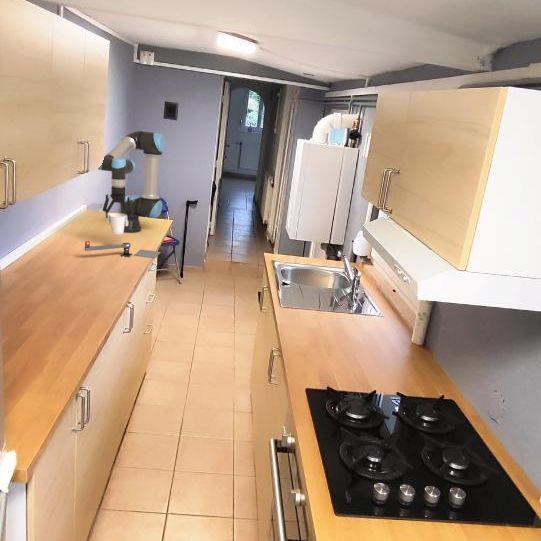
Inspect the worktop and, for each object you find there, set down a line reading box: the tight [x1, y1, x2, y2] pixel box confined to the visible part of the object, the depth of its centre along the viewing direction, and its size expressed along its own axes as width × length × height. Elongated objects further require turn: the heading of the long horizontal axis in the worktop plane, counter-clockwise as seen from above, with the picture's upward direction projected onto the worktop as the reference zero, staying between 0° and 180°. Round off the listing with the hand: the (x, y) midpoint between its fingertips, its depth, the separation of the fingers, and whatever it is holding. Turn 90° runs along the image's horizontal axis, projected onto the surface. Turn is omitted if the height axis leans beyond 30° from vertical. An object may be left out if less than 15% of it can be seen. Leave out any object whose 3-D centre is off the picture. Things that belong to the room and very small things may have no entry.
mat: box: [133, 249, 161, 259], centre depth 315 cm, size 12×12×1 cm
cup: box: [109, 212, 126, 236], centre depth 315 cm, size 10×10×11 cm
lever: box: [84, 240, 132, 252], centre depth 299 cm, size 4×26×5 cm, turn 130°
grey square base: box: [119, 248, 133, 258], centre depth 307 cm, size 5×5×5 cm
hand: (117, 224), depth 315 cm, fingers closed on cup, 10 cm apart
